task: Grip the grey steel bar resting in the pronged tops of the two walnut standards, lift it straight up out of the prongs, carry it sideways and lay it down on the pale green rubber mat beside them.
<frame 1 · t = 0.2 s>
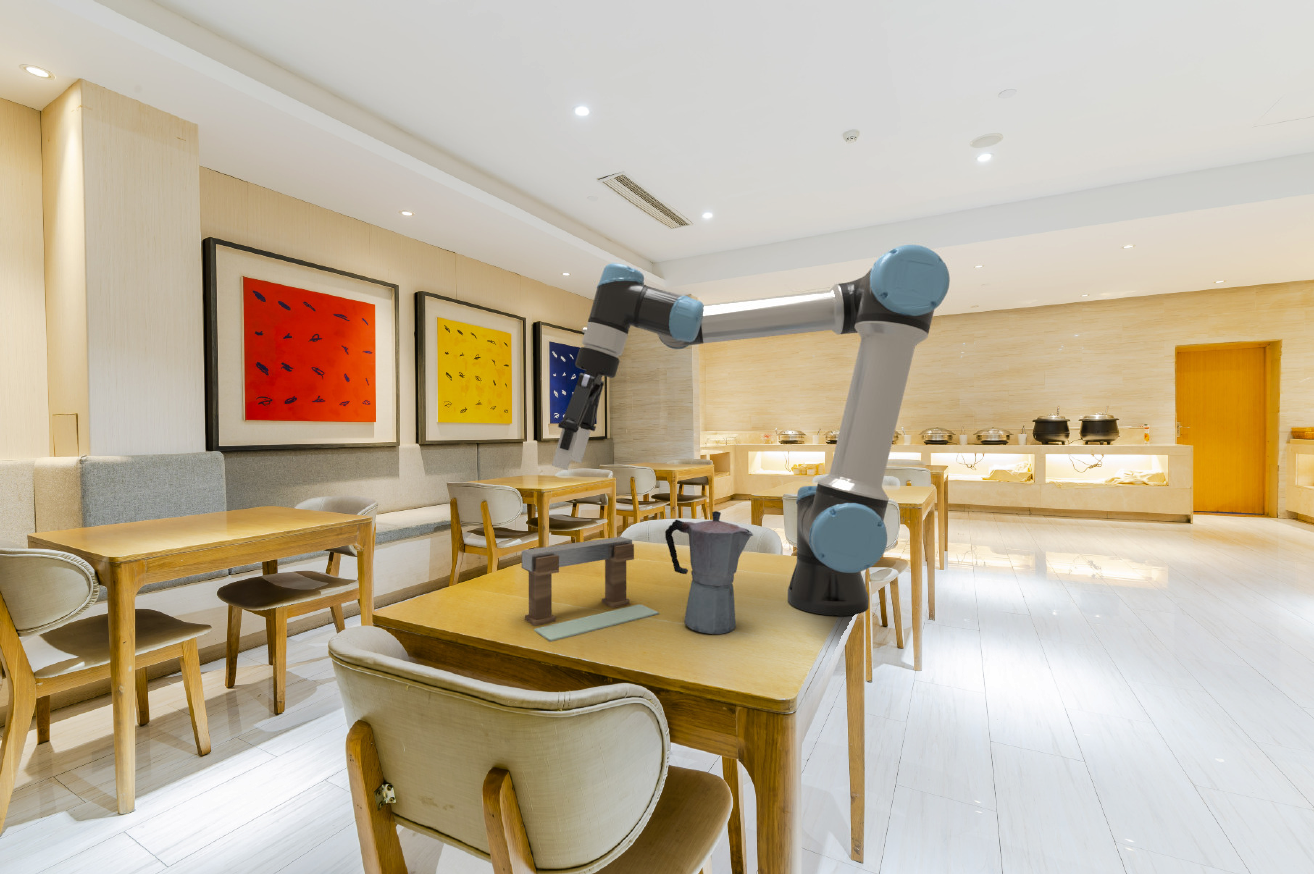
hand: (567, 464, 100), 28 cm above the table, tool tilted 15°, fingers open, 13 cm apart
walnut standards: (579, 611, 103), on the table
moka pot: (707, 627, 96), on the table
green mat: (599, 621, 98), on the table
steel bar: (579, 560, 103), point 9 cm above the table, touching walnut standards
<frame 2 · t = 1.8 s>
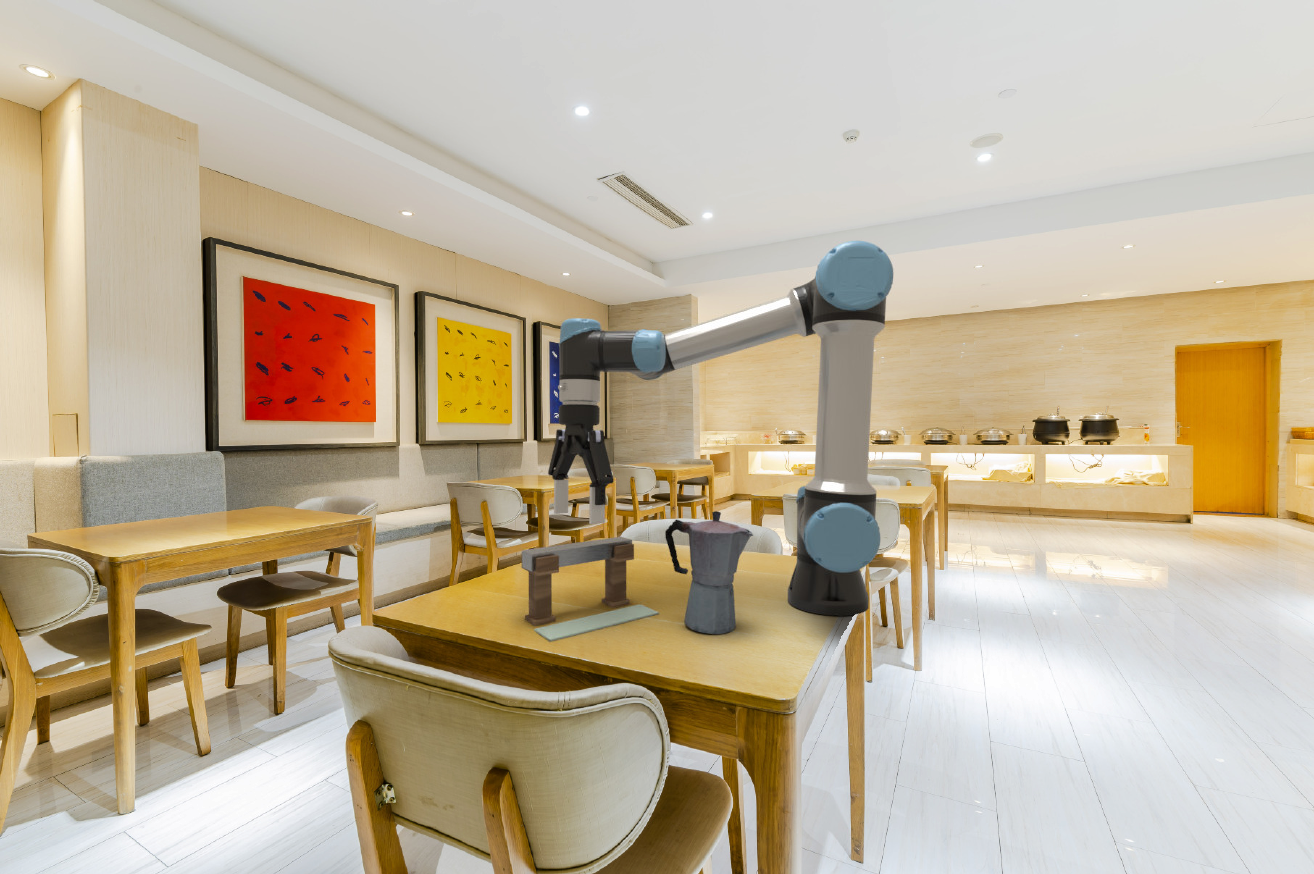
hand: (578, 518, 103), 17 cm above the table, tool pointing down, fingers open, 13 cm apart
nothing on the table moved.
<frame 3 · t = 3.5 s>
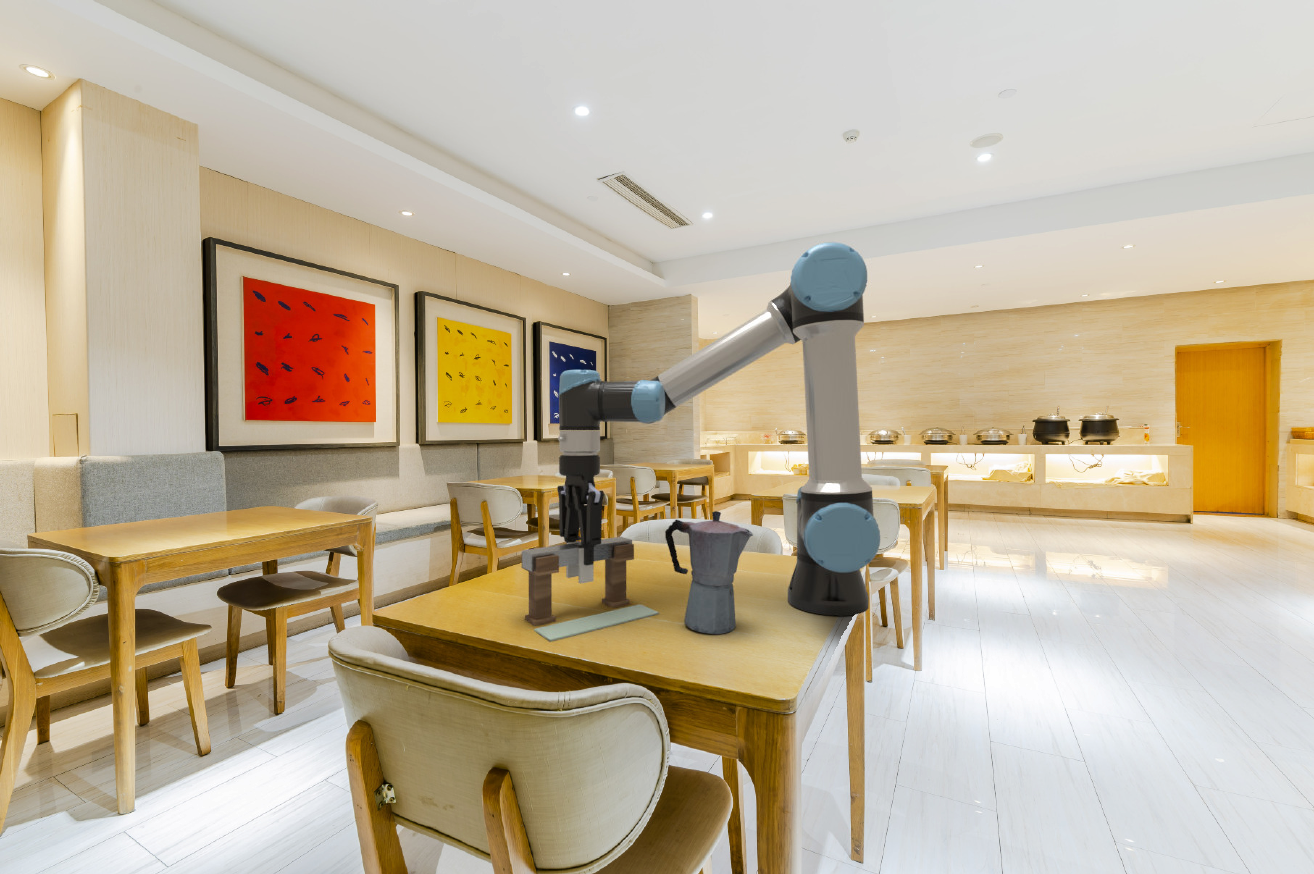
hand: (579, 578, 103), 6 cm above the table, tool pointing down, fingers closed on steel bar, 4 cm apart
steel bar: (579, 560, 103), point 10 cm above the table, touching gripper, walnut standards
everything else where it was.
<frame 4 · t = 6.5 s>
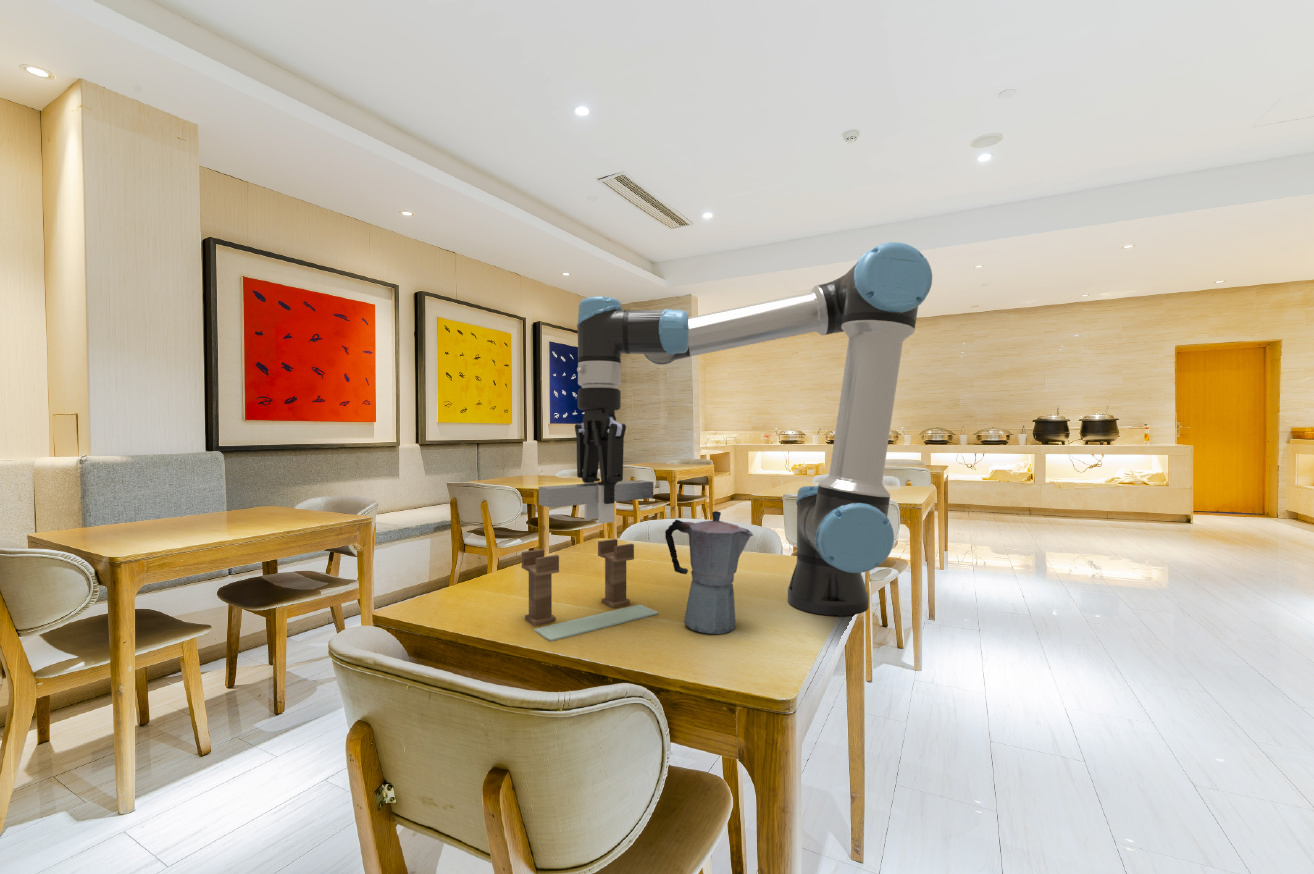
hand: (598, 520, 97), 18 cm above the table, tool pointing down, fingers closed on steel bar, 4 cm apart
steel bar: (598, 501, 97), point 21 cm above the table, touching gripper
everything else where it was.
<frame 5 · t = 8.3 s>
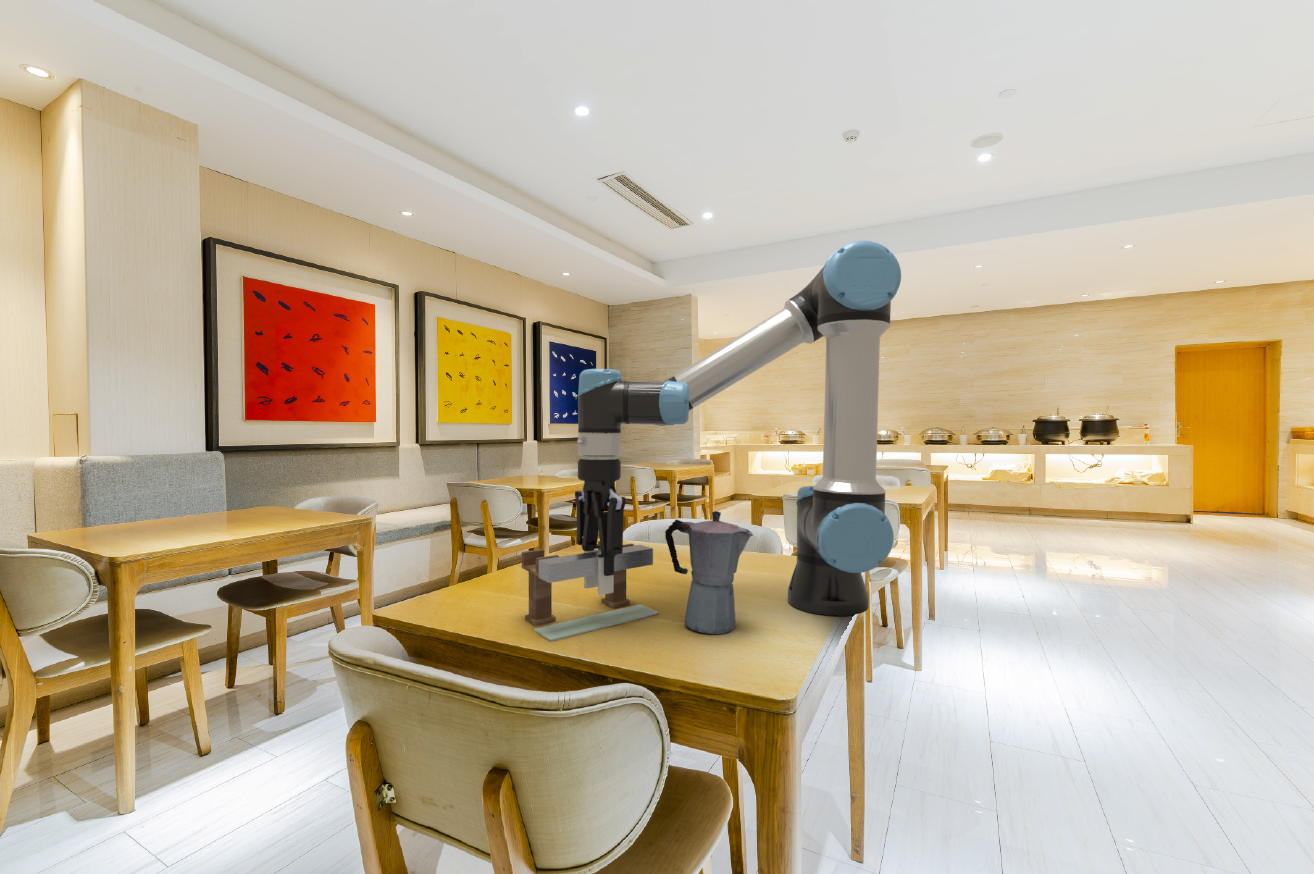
hand: (598, 589, 97), 6 cm above the table, tool pointing down, fingers closed on steel bar, 4 cm apart
steel bar: (598, 570, 97), point 9 cm above the table, touching gripper
everything else where it was.
when the fingers open (1 cm above the table, at t = 9.6 s): steel bar drops 4 cm, resting on green mat.
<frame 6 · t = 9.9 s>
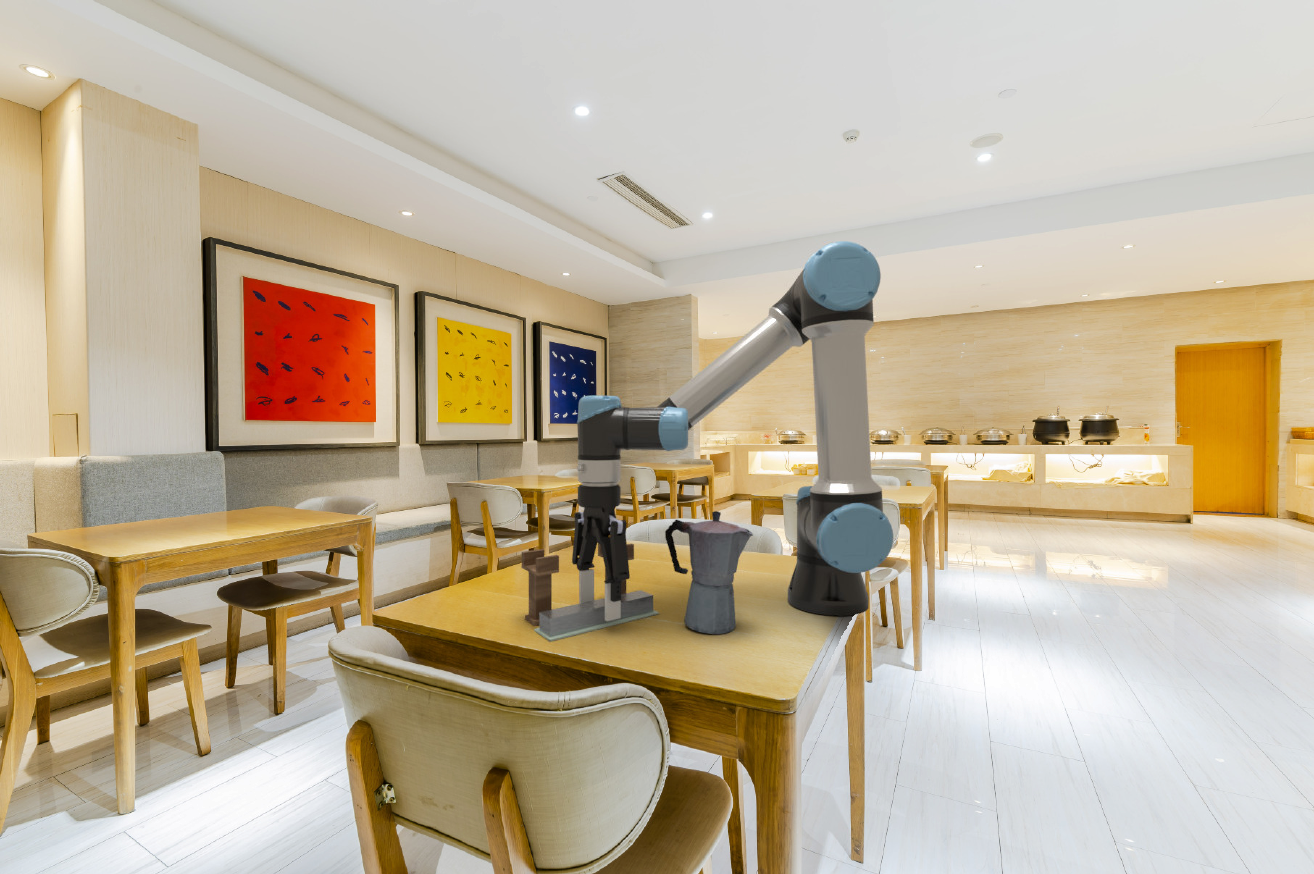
hand: (599, 612, 97), 2 cm above the table, tool pointing down, fingers open, 8 cm apart
steel bar: (599, 620, 98), resting on green mat
everything else where it was.
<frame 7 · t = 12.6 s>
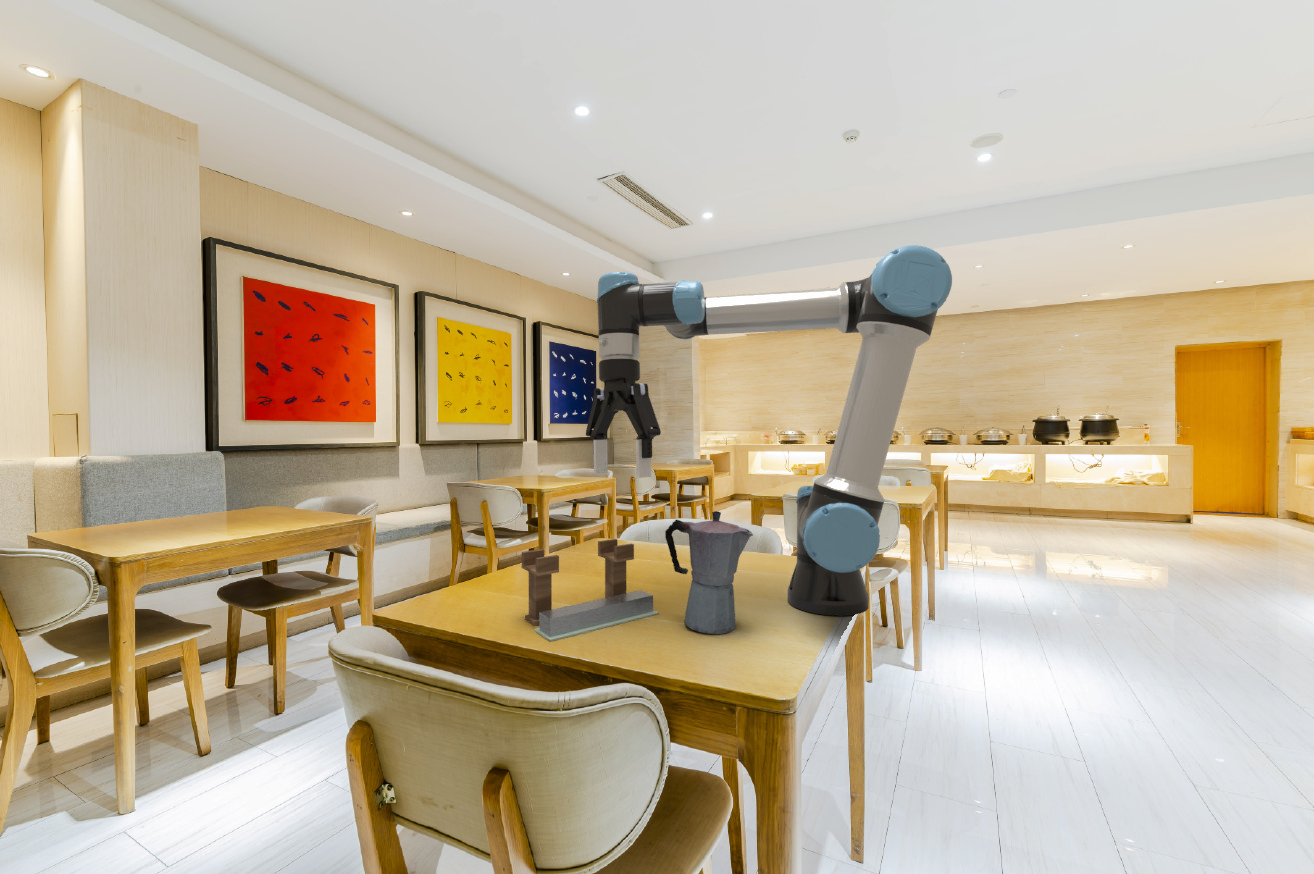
hand: (621, 475, 102), 26 cm above the table, tool pointing down, fingers open, 13 cm apart
nothing on the table moved.
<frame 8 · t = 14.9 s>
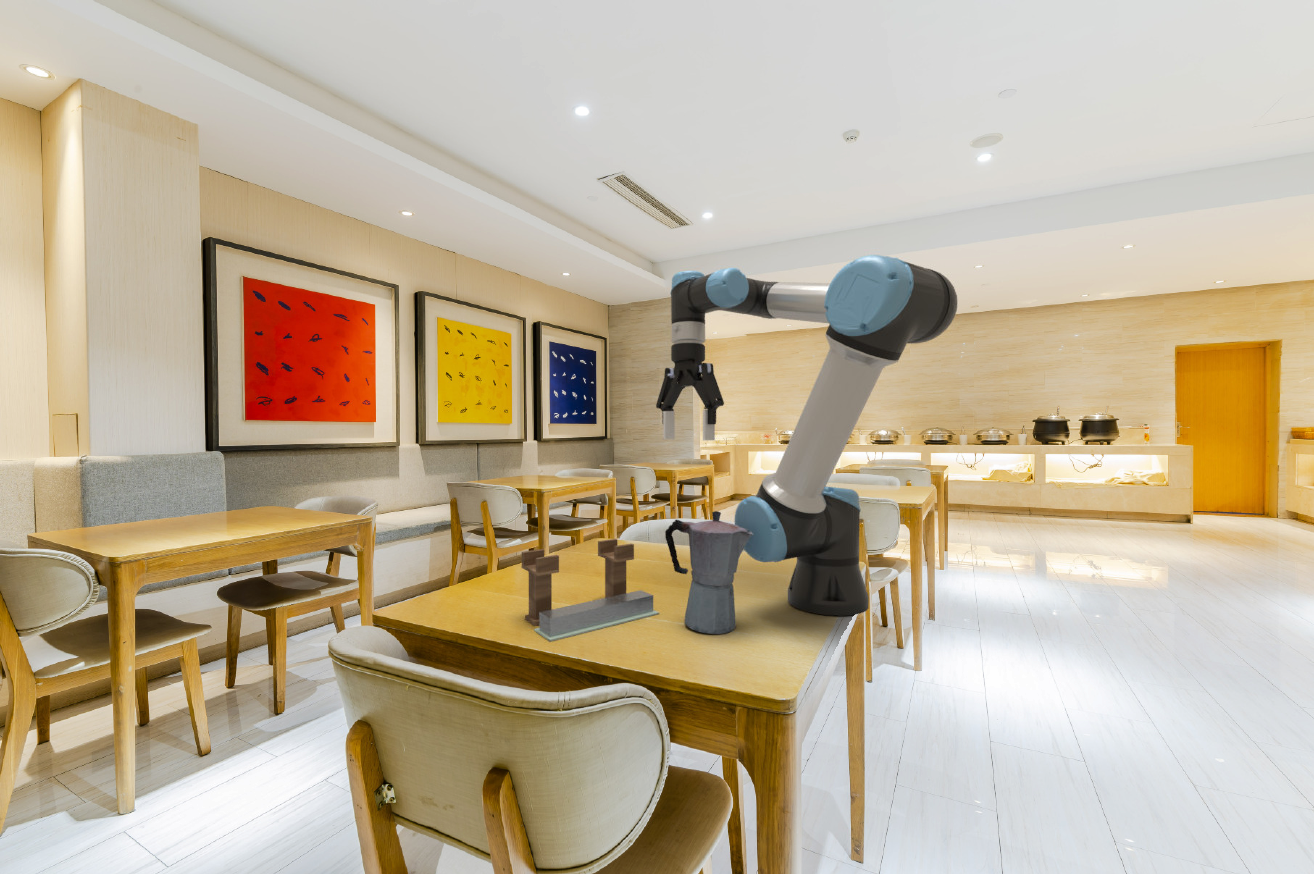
hand: (687, 440, 123), 32 cm above the table, tool pointing down, fingers open, 13 cm apart
nothing on the table moved.
at the end: steel bar inside the target area on the green mat (0.0 cm from its centre), point 0.3 cm above the green mat's base; steel bar tilted 0°; the gripper is holding nothing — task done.
